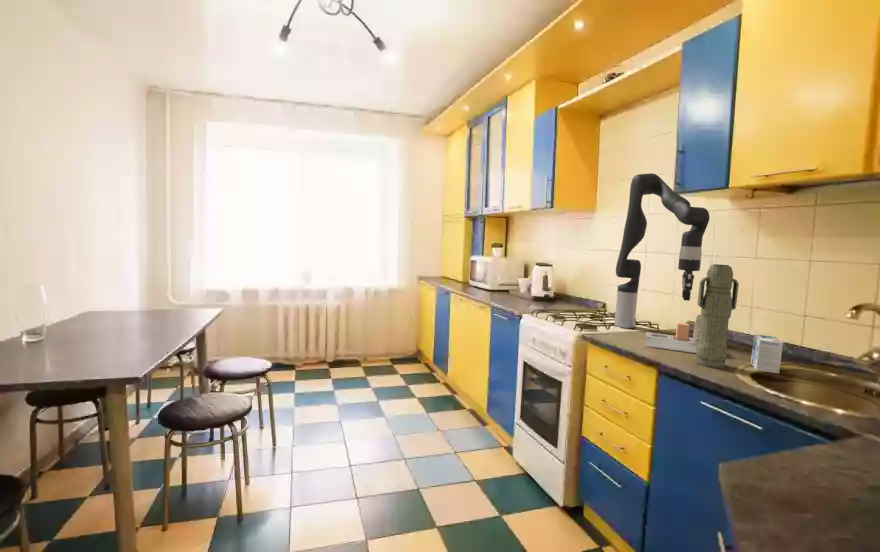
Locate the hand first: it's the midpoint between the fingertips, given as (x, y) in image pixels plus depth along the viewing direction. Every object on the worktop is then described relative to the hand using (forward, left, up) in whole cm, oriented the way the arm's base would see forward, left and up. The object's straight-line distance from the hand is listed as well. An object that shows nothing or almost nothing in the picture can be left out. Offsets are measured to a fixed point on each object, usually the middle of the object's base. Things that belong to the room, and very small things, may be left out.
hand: (685, 299), depth 175 cm
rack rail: (0, 0, -20) cm, 20 cm away
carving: (-18, +9, -20) cm, 28 cm away
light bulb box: (+14, +25, -20) cm, 35 cm away
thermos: (+21, +8, -20) cm, 30 cm away
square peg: (0, 0, -20) cm, 20 cm away
